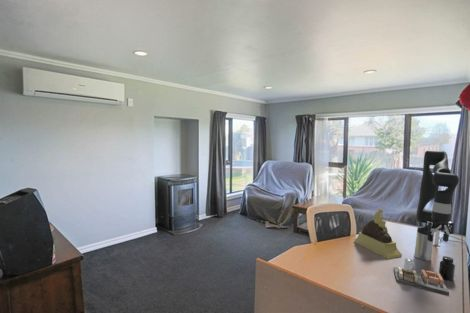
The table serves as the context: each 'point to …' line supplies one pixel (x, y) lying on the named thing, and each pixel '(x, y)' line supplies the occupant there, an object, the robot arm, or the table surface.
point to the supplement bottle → (447, 268)
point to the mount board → (418, 281)
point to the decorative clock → (378, 238)
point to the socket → (432, 277)
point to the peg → (408, 266)
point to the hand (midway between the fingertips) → (437, 241)
